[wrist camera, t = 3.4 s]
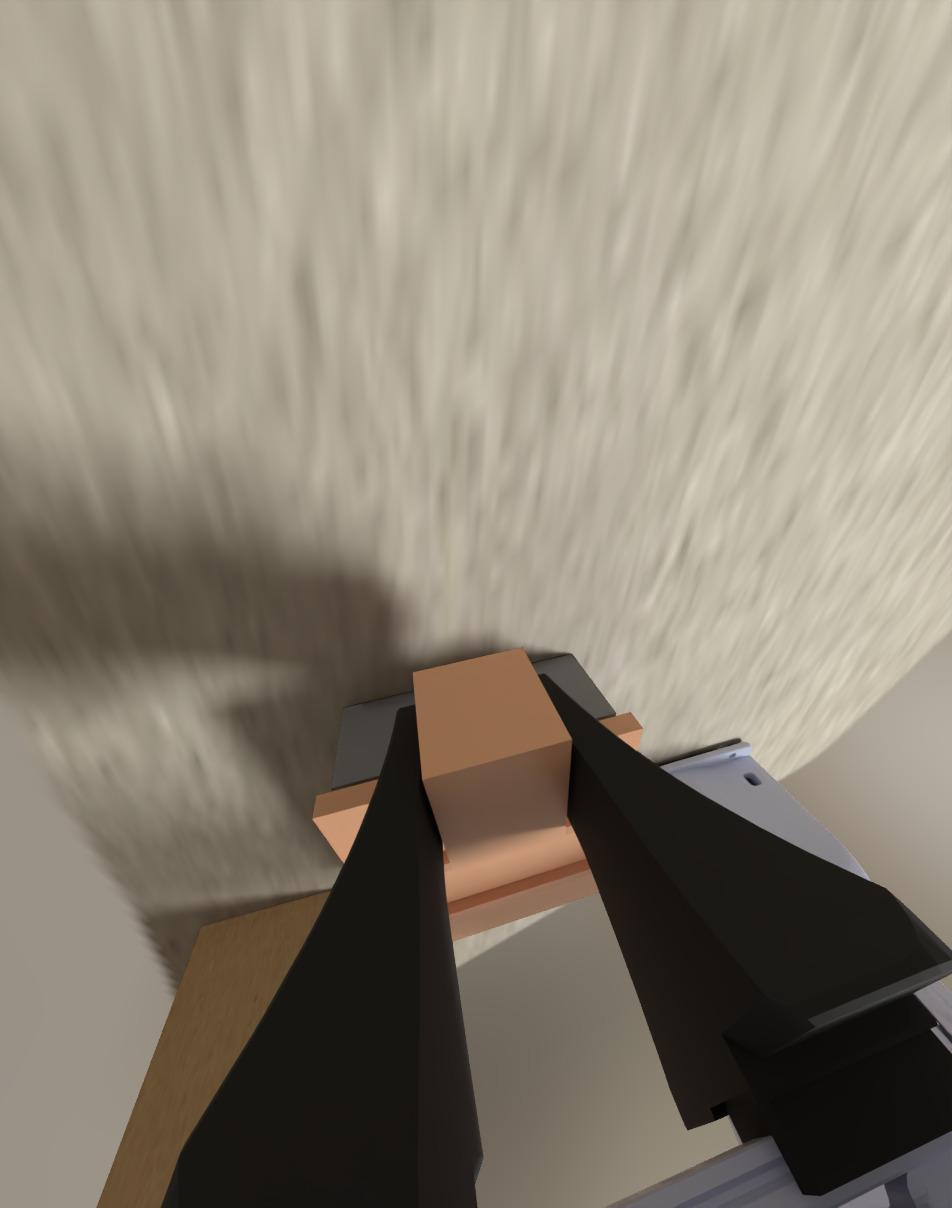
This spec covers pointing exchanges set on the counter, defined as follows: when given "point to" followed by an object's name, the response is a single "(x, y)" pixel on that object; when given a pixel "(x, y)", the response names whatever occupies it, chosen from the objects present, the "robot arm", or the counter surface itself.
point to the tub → (374, 721)
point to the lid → (490, 791)
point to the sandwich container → (204, 1040)
